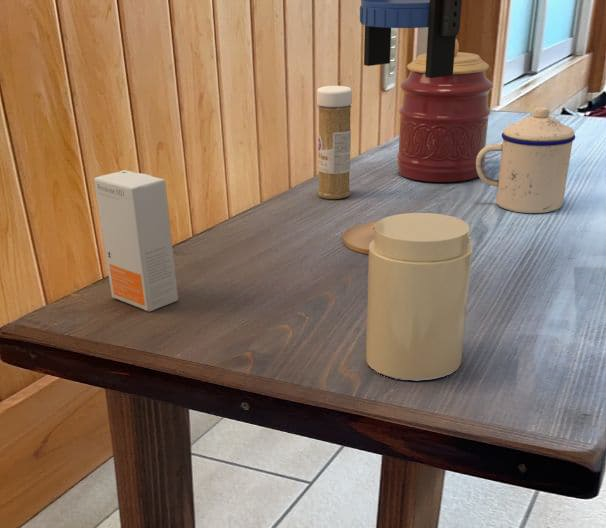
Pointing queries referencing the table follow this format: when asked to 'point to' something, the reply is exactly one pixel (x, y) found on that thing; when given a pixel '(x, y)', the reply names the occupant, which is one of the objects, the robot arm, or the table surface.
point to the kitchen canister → (444, 120)
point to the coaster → (359, 237)
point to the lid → (395, 13)
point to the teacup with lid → (532, 163)
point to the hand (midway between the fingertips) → (406, 69)
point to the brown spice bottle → (334, 141)
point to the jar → (417, 294)
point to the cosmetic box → (137, 238)
